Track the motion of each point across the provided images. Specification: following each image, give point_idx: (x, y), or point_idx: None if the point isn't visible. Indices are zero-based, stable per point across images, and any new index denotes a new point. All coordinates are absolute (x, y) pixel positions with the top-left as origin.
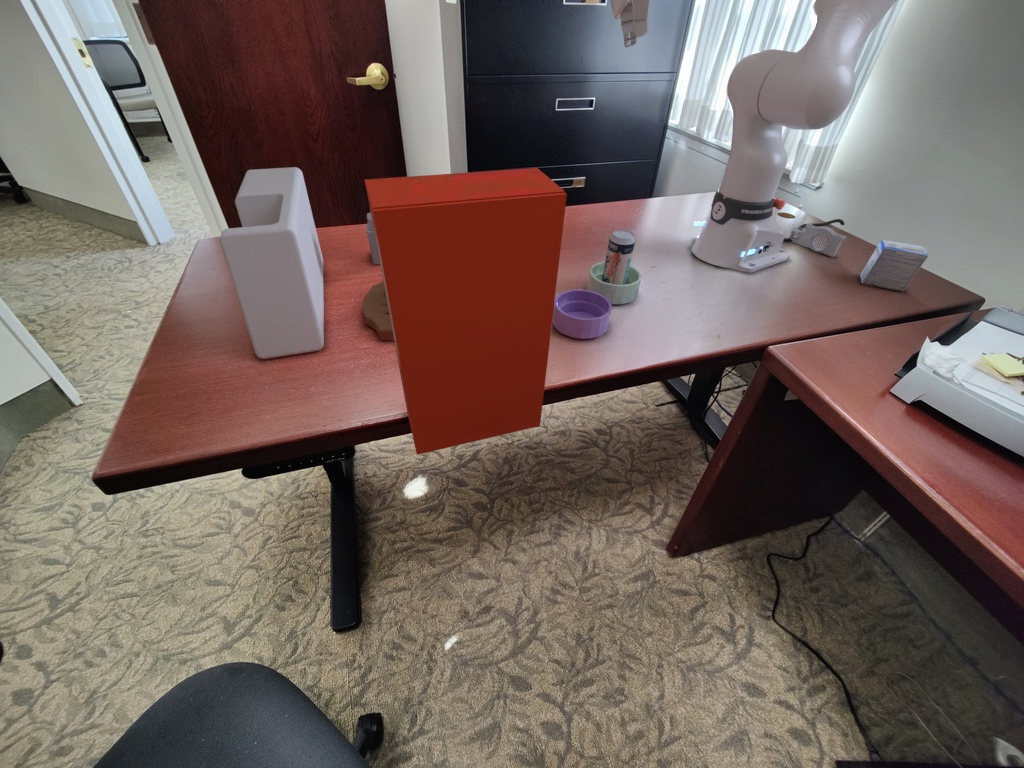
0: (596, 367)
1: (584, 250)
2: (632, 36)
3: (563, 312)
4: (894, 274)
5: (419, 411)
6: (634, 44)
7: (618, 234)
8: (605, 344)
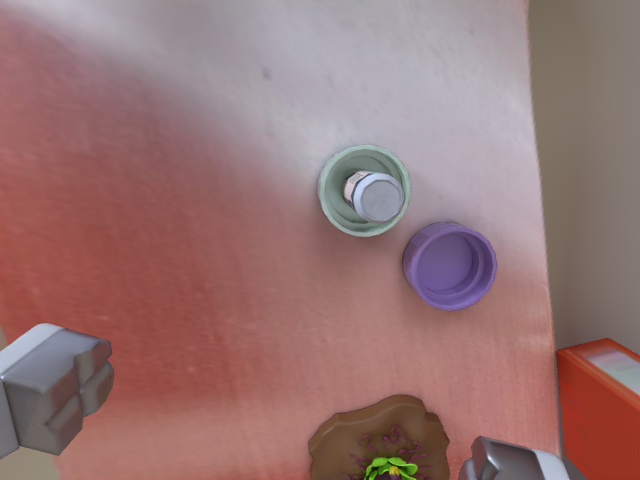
0: (532, 259)
1: (191, 195)
2: (75, 389)
3: (472, 302)
4: None
5: None
6: (106, 341)
7: (378, 209)
8: (490, 235)
